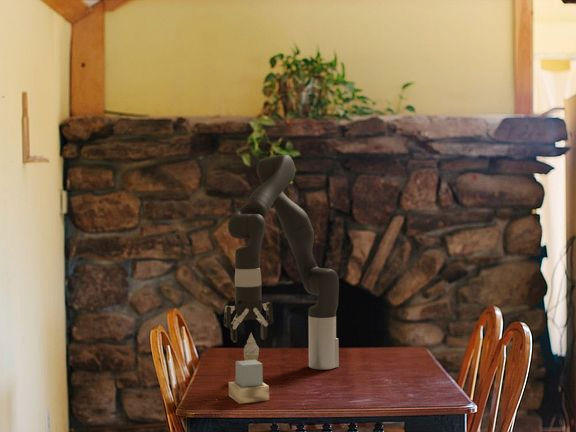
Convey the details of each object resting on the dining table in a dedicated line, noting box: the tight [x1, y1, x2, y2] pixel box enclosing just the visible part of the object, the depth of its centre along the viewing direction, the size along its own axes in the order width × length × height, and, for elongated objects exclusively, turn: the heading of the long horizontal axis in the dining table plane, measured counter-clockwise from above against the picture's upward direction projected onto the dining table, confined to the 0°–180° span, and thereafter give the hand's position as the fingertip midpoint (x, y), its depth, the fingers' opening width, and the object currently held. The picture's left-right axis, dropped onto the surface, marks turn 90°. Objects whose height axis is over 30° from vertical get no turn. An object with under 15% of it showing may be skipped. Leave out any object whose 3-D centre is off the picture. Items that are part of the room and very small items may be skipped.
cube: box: [235, 359, 264, 387], centre depth 220 cm, size 6×6×6 cm
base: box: [228, 380, 270, 405], centre depth 220 cm, size 9×9×4 cm
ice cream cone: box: [242, 332, 260, 361], centre depth 242 cm, size 5×5×15 cm
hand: (249, 340), depth 220 cm, fingers open, 8 cm apart
